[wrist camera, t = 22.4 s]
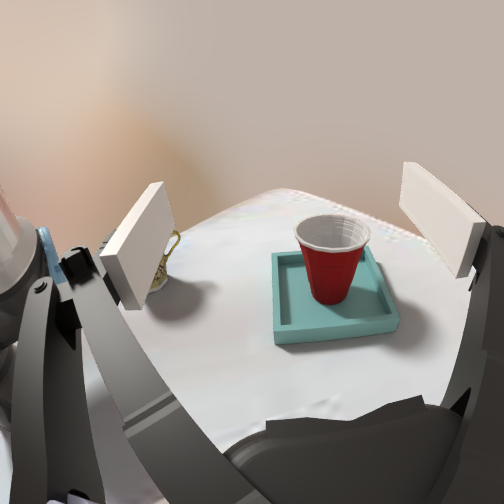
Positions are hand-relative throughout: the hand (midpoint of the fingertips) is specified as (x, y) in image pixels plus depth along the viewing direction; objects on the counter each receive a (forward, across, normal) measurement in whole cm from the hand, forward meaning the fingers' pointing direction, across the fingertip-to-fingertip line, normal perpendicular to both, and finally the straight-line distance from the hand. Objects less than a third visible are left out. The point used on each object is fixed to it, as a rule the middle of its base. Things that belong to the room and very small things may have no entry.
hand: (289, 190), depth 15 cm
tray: (+20, +7, -28) cm, 35 cm away
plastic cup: (+20, +7, -27) cm, 34 cm away
